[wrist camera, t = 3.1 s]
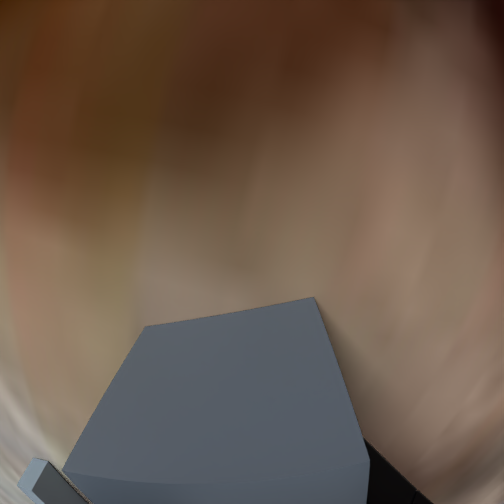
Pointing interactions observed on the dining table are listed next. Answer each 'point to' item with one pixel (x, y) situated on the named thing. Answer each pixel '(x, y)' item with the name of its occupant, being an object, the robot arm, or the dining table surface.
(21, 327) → the dining table surface
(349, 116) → the dining table surface
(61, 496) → the green and blue-gray block
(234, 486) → the slate gray cuboid
